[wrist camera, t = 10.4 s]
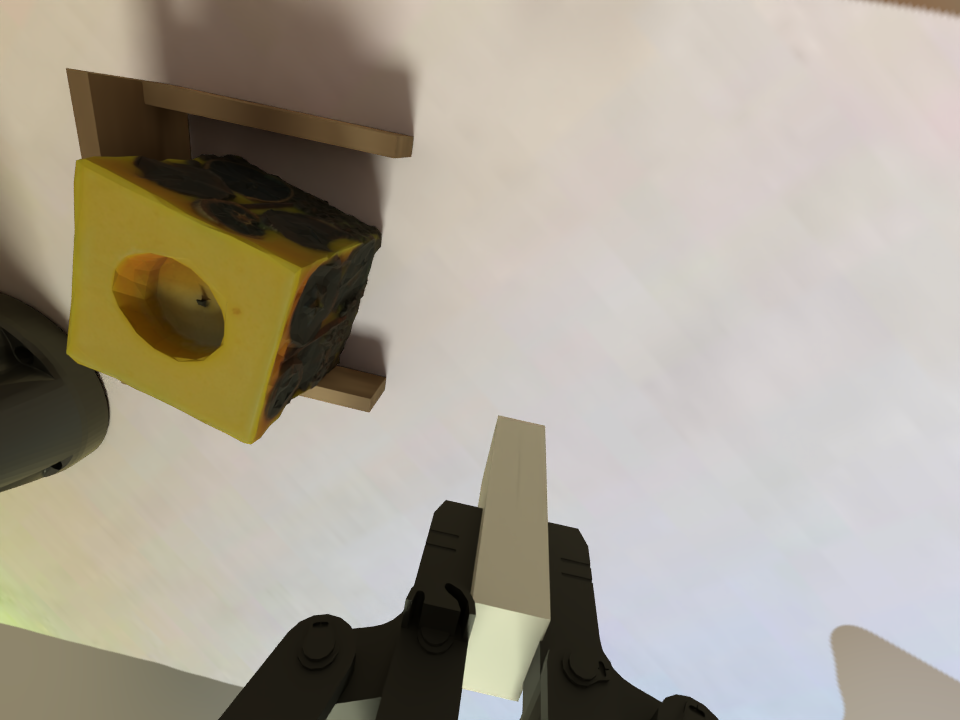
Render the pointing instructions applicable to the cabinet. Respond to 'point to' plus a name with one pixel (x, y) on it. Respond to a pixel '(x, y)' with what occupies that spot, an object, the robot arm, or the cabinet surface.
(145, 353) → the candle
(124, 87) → the dock
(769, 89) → the cabinet surface
